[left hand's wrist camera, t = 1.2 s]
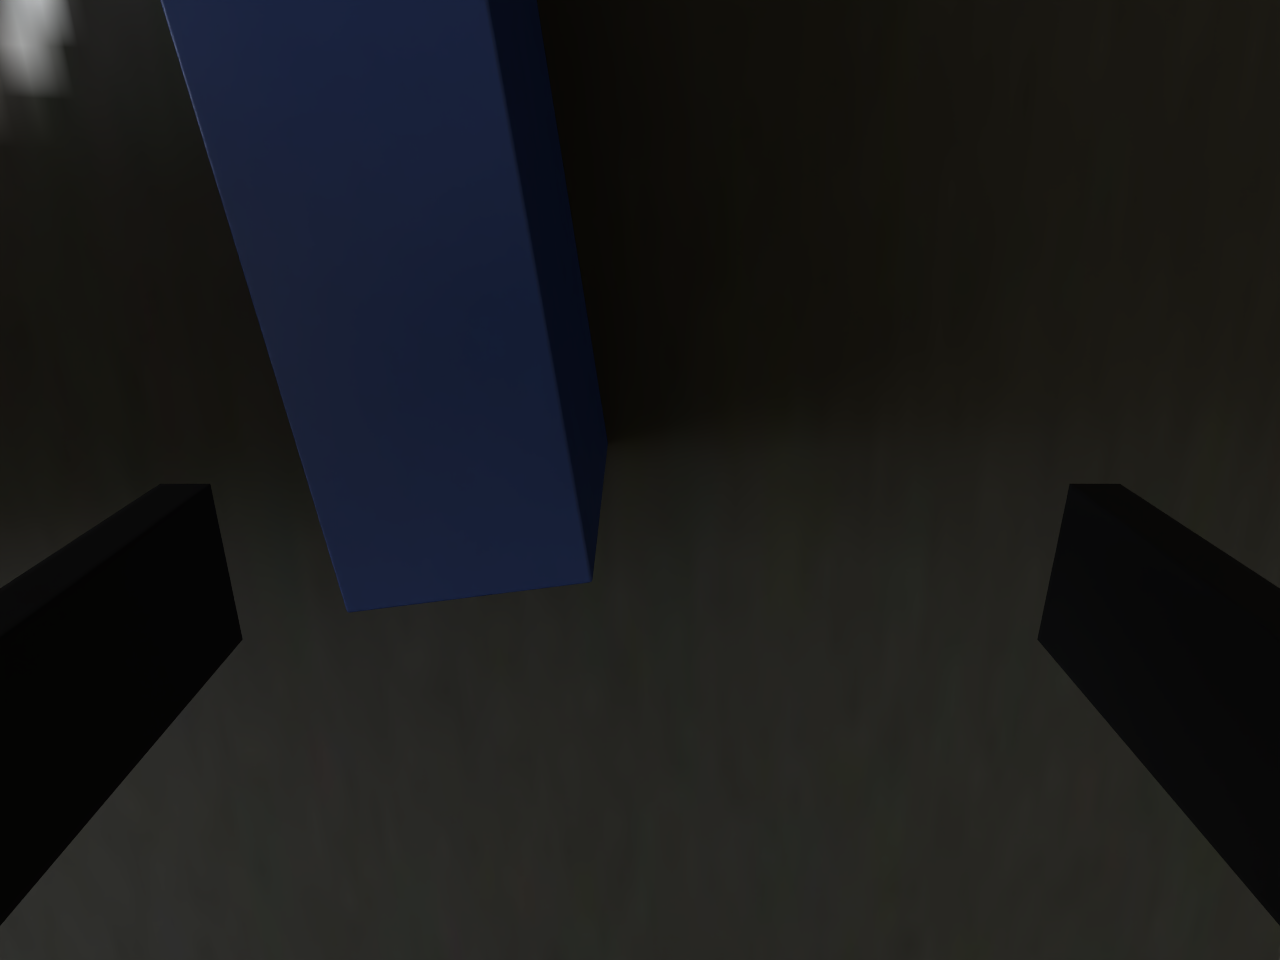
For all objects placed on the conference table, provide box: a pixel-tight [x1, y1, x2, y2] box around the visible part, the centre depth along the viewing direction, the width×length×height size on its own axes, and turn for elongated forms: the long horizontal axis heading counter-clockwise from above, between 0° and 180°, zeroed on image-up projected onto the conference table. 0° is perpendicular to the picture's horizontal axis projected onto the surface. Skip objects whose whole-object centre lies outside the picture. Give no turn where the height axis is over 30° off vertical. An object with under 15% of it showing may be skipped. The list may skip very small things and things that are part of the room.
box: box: [161, 0, 608, 612], centre depth 20 cm, size 28×6×11 cm, turn 8°
